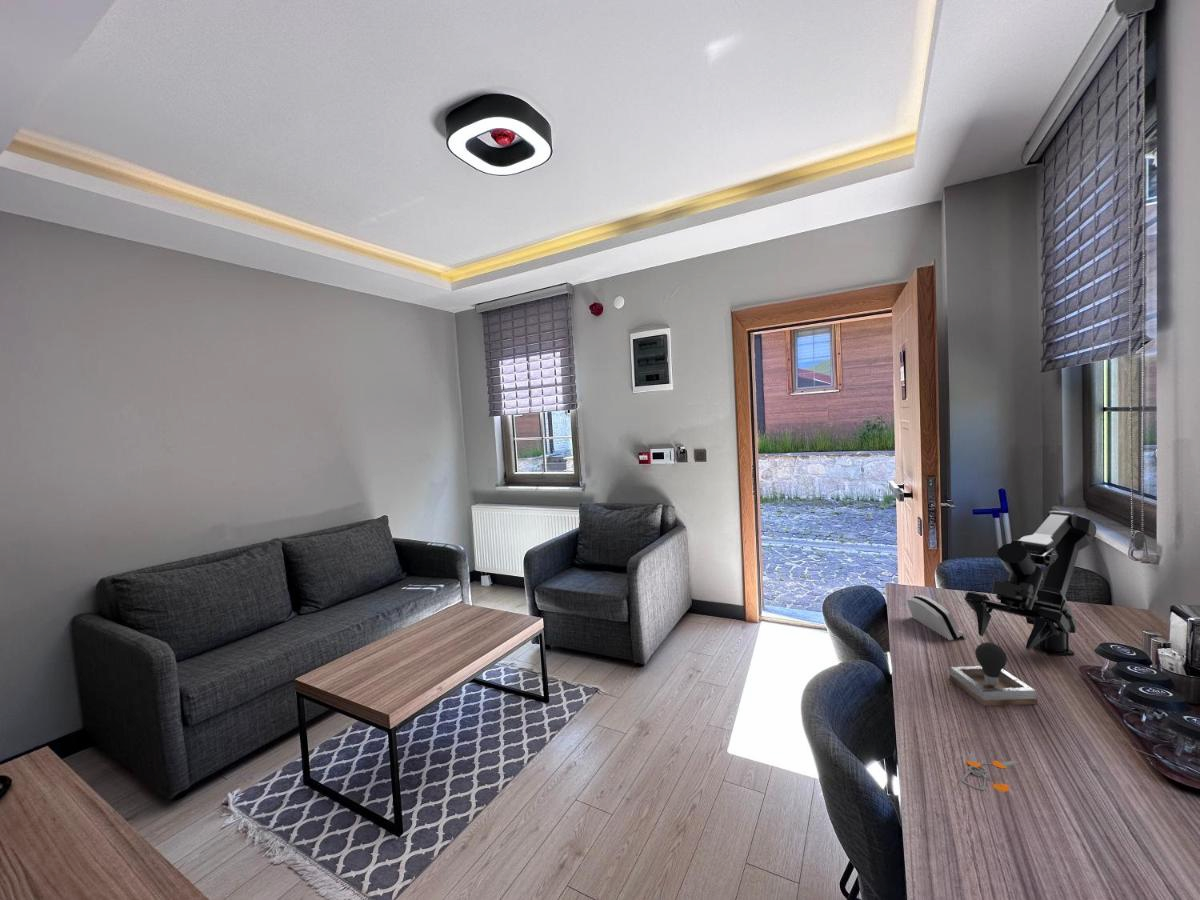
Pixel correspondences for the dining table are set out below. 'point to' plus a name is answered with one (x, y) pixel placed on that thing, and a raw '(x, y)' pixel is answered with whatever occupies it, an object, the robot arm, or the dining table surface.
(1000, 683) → the socket board
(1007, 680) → the socket collar
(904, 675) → the dining table surface
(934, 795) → the dining table surface
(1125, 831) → the dining table surface
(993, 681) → the light bulb
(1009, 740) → the dining table surface
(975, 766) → the key chain
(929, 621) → the white arched casing
